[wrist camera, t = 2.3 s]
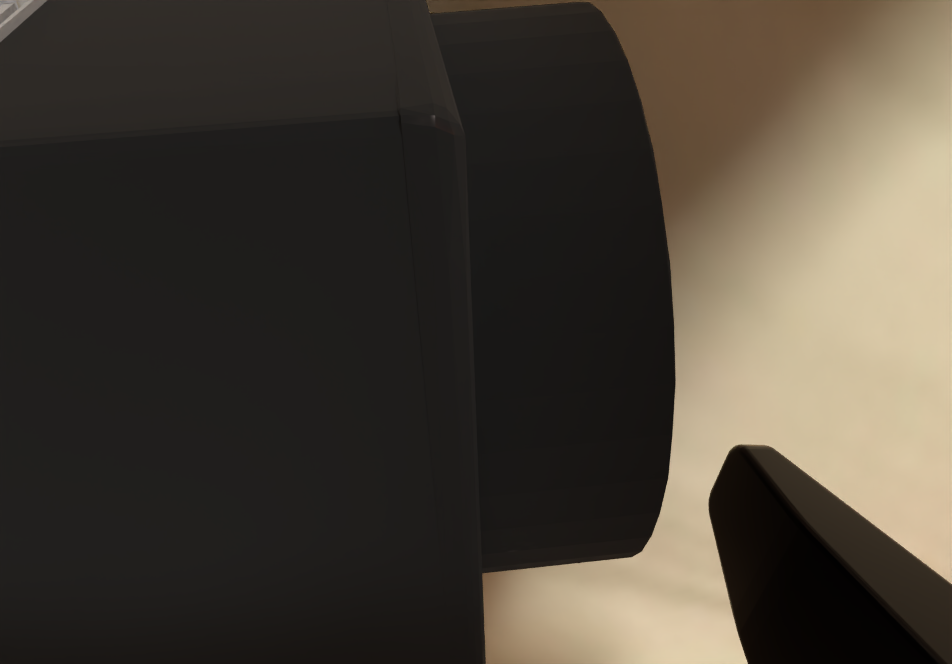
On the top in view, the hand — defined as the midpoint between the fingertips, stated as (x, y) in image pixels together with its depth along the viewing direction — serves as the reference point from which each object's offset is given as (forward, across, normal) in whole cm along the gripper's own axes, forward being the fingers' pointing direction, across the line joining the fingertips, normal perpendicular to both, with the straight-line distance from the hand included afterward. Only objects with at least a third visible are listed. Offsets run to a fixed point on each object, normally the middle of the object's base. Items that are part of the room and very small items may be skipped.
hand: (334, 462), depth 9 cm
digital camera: (+4, 0, 0) cm, 4 cm away
